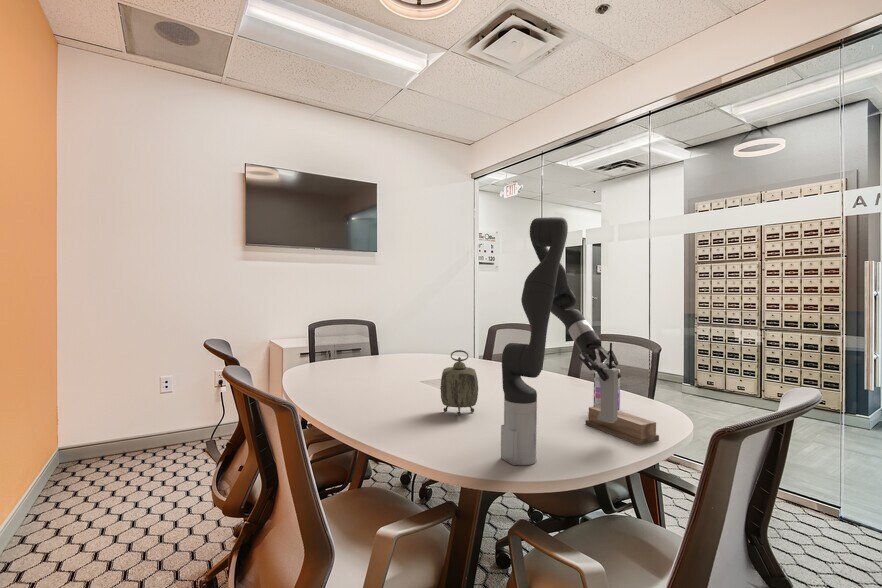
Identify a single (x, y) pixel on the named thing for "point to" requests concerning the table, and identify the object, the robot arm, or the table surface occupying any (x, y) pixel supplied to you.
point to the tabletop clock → (459, 385)
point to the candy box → (598, 391)
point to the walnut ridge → (625, 426)
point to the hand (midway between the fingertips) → (612, 378)
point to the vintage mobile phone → (609, 393)
